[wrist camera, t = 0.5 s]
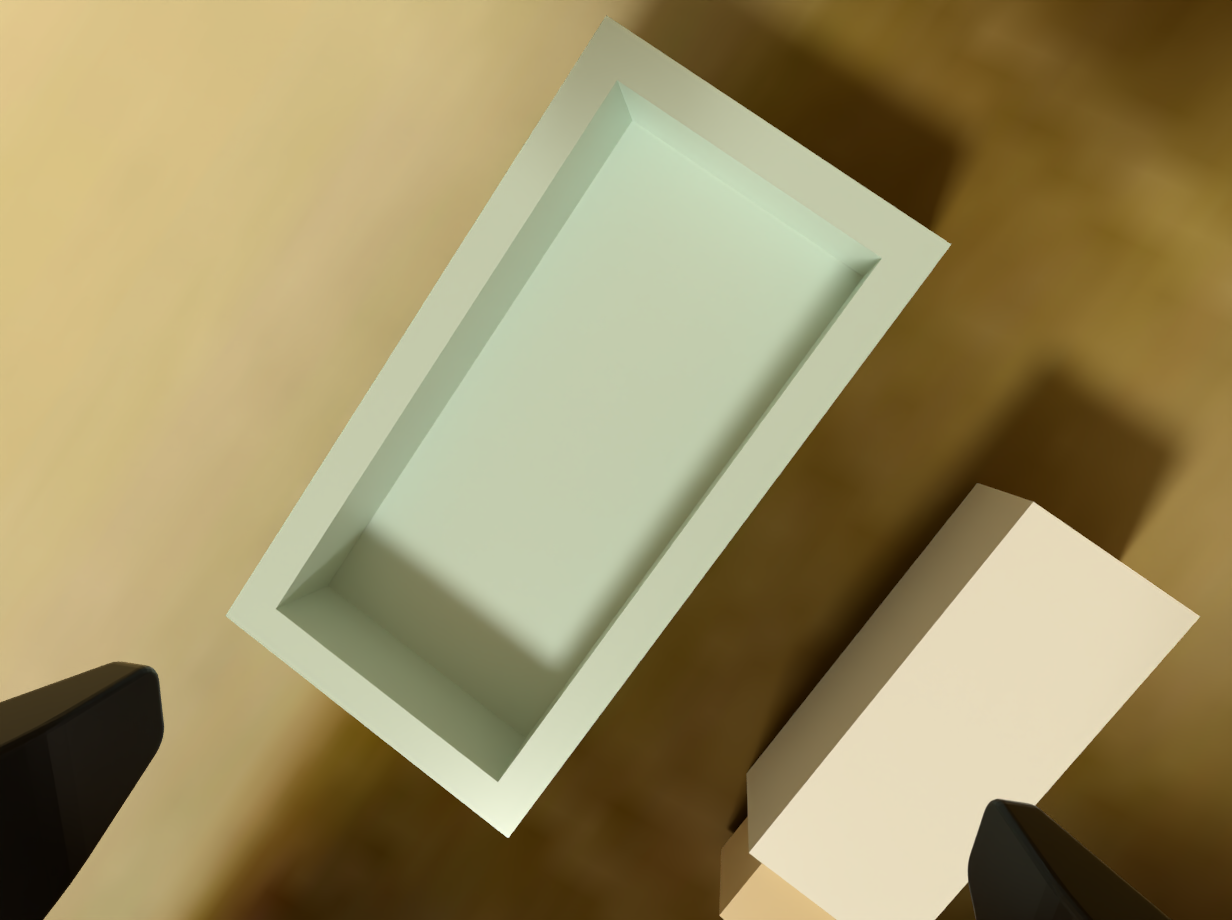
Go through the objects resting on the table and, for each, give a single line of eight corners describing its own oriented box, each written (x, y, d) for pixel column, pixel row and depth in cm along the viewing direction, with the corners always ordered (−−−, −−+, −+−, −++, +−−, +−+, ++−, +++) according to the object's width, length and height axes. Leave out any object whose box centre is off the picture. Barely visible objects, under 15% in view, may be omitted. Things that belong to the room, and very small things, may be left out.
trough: (914, 272, 20) (951, 244, 16) (543, 770, 22) (508, 838, 19) (628, 80, 20) (606, 14, 17) (302, 584, 23) (225, 615, 20)
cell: (1107, 573, 20) (1199, 616, 16) (822, 912, 22) (841, 1027, 18) (975, 482, 20) (1033, 501, 16) (704, 823, 22) (697, 915, 18)
